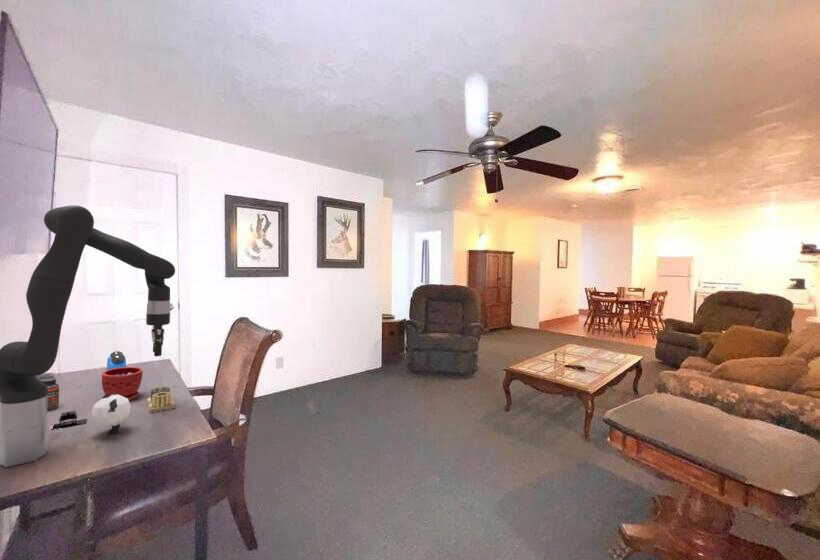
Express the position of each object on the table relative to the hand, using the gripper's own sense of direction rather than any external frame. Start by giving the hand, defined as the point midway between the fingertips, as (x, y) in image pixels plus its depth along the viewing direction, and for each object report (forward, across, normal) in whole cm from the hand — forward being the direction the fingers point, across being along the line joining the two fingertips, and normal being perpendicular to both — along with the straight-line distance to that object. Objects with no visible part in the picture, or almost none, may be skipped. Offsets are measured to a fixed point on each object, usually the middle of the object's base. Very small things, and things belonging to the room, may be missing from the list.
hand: (157, 353), depth 137 cm
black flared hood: (+23, +1, +24) cm, 33 cm away
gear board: (+22, +5, -2) cm, 22 cm away
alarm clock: (+22, +43, +12) cm, 50 cm away
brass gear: (+20, +1, -2) cm, 20 cm away
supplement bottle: (+22, +22, +32) cm, 45 cm away
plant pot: (+22, +20, +10) cm, 32 cm away
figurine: (+22, -15, +13) cm, 30 cm away
